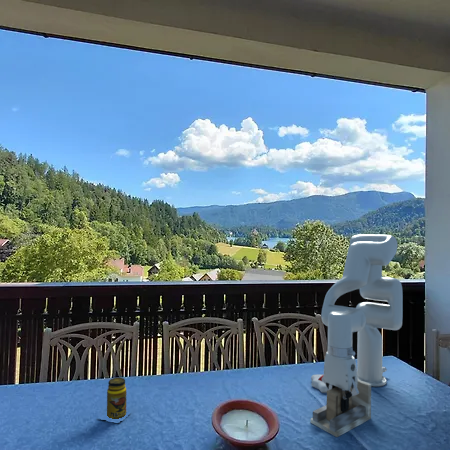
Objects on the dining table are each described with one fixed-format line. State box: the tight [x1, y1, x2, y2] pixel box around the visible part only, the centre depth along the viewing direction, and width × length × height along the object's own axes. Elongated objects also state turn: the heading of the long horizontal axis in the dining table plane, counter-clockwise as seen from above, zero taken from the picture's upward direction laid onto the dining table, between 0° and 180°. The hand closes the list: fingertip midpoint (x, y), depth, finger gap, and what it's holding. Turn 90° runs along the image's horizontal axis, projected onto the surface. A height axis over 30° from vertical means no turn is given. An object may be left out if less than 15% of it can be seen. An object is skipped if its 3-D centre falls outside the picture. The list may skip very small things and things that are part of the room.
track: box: [309, 379, 372, 438], centre depth 118 cm, size 18×10×11 cm, turn 127°
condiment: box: [106, 376, 127, 419], centre depth 119 cm, size 7×8×12 cm
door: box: [326, 387, 352, 421], centre depth 117 cm, size 9×3×9 cm, turn 127°
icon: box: [310, 373, 328, 394], centre depth 143 cm, size 12×4×10 cm
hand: (339, 407), depth 117 cm, fingers open, 3 cm apart
